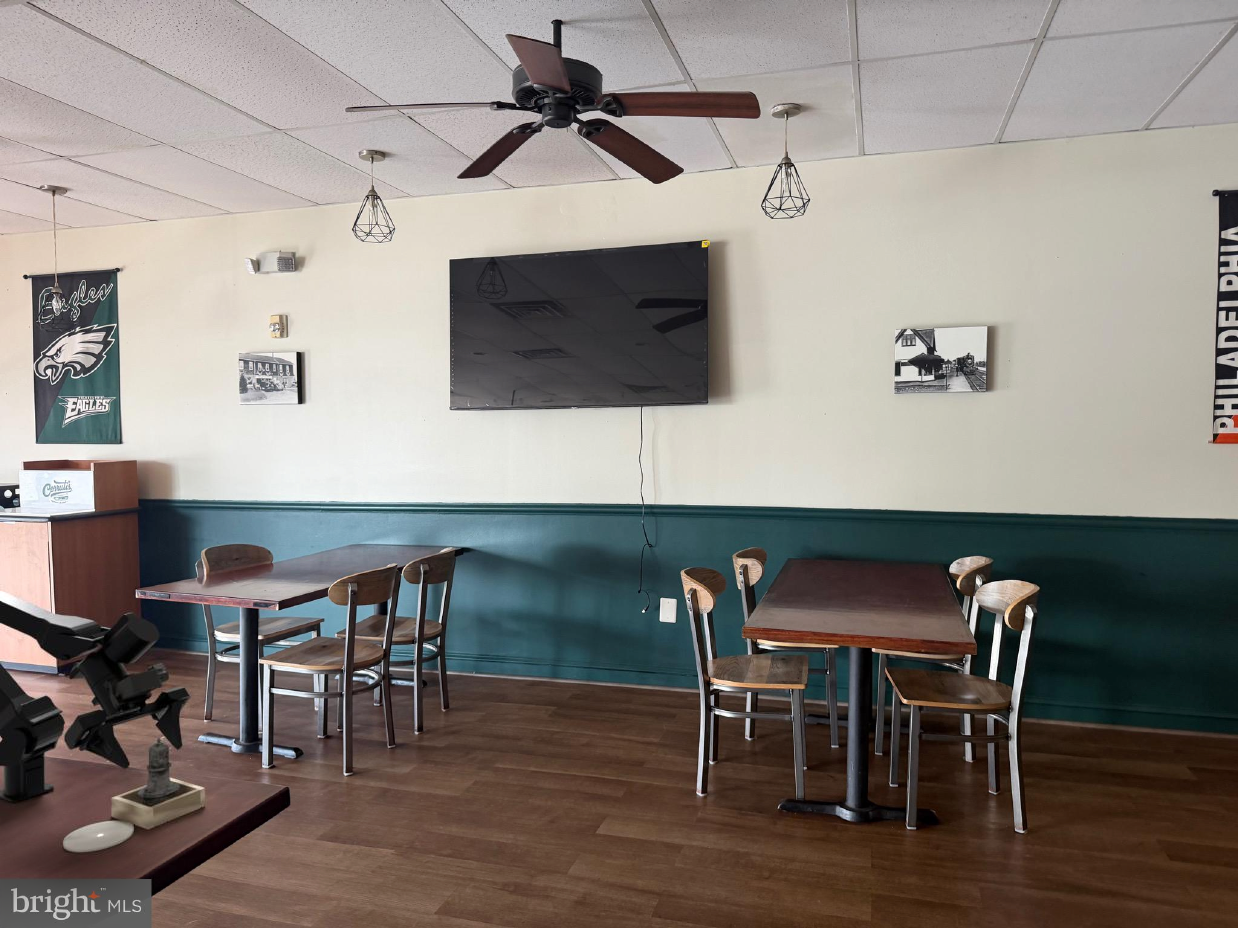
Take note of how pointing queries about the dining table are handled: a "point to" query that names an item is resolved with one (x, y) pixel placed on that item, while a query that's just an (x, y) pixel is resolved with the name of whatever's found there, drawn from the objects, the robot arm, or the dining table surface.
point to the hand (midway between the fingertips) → (154, 757)
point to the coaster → (98, 836)
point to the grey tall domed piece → (158, 777)
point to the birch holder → (157, 806)
